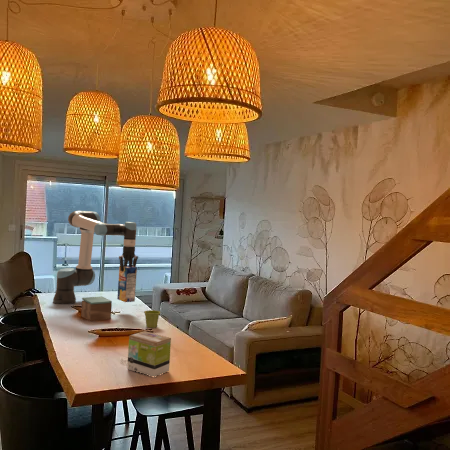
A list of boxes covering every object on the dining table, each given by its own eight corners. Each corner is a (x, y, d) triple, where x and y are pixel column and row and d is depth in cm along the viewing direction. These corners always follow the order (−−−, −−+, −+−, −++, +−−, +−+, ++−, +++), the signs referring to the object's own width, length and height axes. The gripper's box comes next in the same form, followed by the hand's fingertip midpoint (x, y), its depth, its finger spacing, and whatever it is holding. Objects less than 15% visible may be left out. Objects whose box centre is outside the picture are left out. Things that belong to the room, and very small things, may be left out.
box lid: (82, 299, 277) (82, 297, 277) (102, 297, 286) (102, 296, 286) (91, 304, 267) (91, 302, 266) (111, 302, 275) (111, 301, 275)
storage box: (81, 316, 277) (81, 300, 277) (101, 314, 286) (101, 299, 286) (90, 321, 267) (91, 304, 267) (110, 319, 275) (111, 303, 275)
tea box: (126, 370, 188) (128, 334, 187) (142, 364, 196) (144, 330, 196) (154, 378, 180) (156, 341, 180) (169, 372, 188) (171, 336, 188)
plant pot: (139, 326, 262) (140, 311, 262) (152, 324, 269) (153, 309, 269) (149, 329, 255) (150, 314, 255) (162, 327, 262) (163, 312, 262)
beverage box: (125, 302, 287) (127, 267, 286) (117, 299, 295) (119, 265, 295) (134, 301, 291) (137, 267, 291) (126, 298, 300) (128, 265, 299)
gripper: (121, 246, 285) (119, 283, 286) (142, 246, 295) (140, 282, 295) (116, 245, 291) (113, 281, 291) (136, 245, 300) (134, 280, 301)
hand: (126, 282), depth 293 cm, fingers closed on beverage box, 2 cm apart
